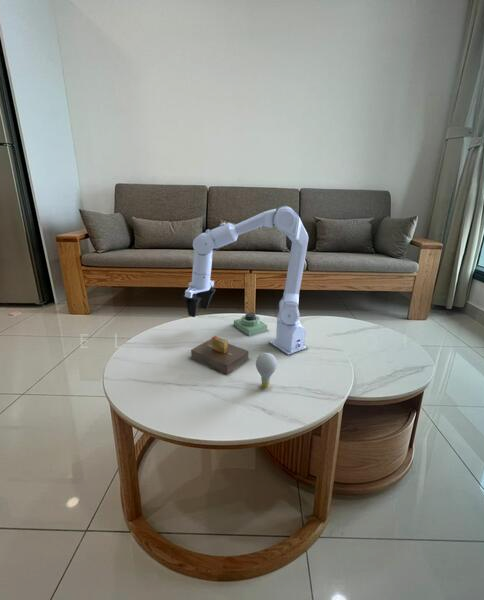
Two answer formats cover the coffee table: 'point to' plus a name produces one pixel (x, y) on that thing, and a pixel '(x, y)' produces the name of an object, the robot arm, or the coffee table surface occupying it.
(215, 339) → the thumb turn
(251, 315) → the alarm button
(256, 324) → the block
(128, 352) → the coffee table surface
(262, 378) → the light bulb
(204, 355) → the plate
